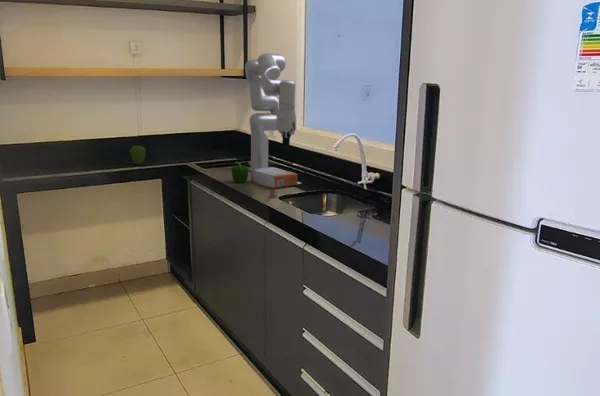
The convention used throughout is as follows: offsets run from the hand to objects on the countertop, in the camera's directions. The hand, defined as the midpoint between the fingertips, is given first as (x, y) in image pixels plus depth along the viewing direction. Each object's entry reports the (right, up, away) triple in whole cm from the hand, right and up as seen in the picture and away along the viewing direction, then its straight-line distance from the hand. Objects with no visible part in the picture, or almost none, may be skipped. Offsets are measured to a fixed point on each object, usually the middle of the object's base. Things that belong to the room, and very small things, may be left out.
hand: (285, 145), depth 247 cm
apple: (-86, -6, +45) cm, 97 cm away
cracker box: (0, -17, -1) cm, 17 cm away
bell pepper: (-23, -17, +9) cm, 30 cm away
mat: (-4, -18, +8) cm, 20 cm away
